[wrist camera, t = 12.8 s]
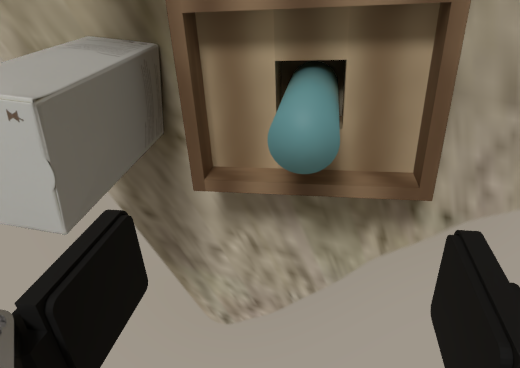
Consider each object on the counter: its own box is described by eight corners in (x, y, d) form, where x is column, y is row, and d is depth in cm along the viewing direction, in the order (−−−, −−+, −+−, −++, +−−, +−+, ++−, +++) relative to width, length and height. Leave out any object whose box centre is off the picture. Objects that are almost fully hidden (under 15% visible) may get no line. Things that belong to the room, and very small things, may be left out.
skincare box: (89, 34, 31) (-95, 76, 18) (165, 43, 31) (34, 94, 17) (101, 128, 36) (-41, 221, 22) (168, 138, 35) (64, 240, 21)
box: (448, -20, 26) (474, -20, 21) (417, 167, 32) (432, 200, 27) (193, -7, 29) (164, -4, 24) (212, 161, 35) (193, 190, 30)
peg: (339, 60, 29) (341, 107, 19) (336, 108, 31) (337, 175, 21) (289, 61, 30) (266, 106, 19) (290, 108, 32) (268, 172, 21)
